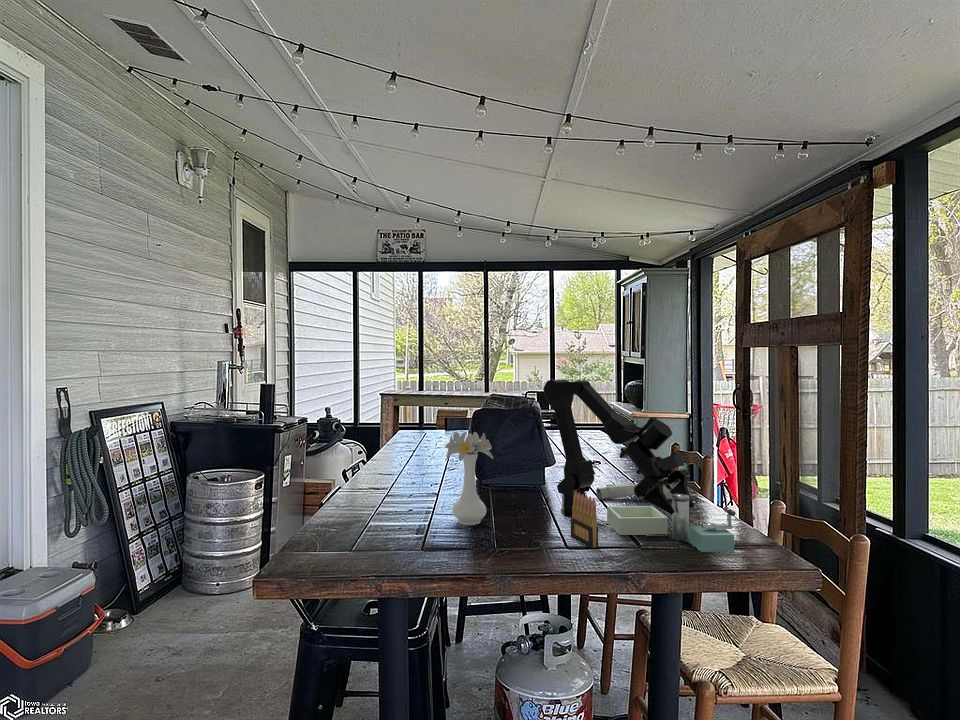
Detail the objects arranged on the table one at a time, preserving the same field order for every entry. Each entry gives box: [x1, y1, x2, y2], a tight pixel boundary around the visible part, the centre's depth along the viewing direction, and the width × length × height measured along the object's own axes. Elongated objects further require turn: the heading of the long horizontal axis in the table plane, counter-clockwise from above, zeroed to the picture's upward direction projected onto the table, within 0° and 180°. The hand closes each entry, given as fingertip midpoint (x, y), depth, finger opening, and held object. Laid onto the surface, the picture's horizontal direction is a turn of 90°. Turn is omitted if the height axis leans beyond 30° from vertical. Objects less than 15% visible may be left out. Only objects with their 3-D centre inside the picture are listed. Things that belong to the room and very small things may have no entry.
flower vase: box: [444, 431, 494, 526], centre depth 186 cm, size 13×18×25 cm
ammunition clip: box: [570, 491, 599, 550], centre depth 168 cm, size 11×2×12 cm, turn 21°
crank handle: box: [701, 506, 736, 531], centre depth 165 cm, size 7×5×5 cm
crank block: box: [688, 525, 735, 553], centre depth 165 cm, size 8×8×4 cm
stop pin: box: [671, 494, 690, 541], centre depth 171 cm, size 4×4×11 cm
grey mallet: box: [595, 483, 672, 501], centre depth 215 cm, size 5×7×25 cm
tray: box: [606, 505, 669, 536], centre depth 180 cm, size 13×13×4 cm
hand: (683, 510), depth 171 cm, fingers open, 9 cm apart
